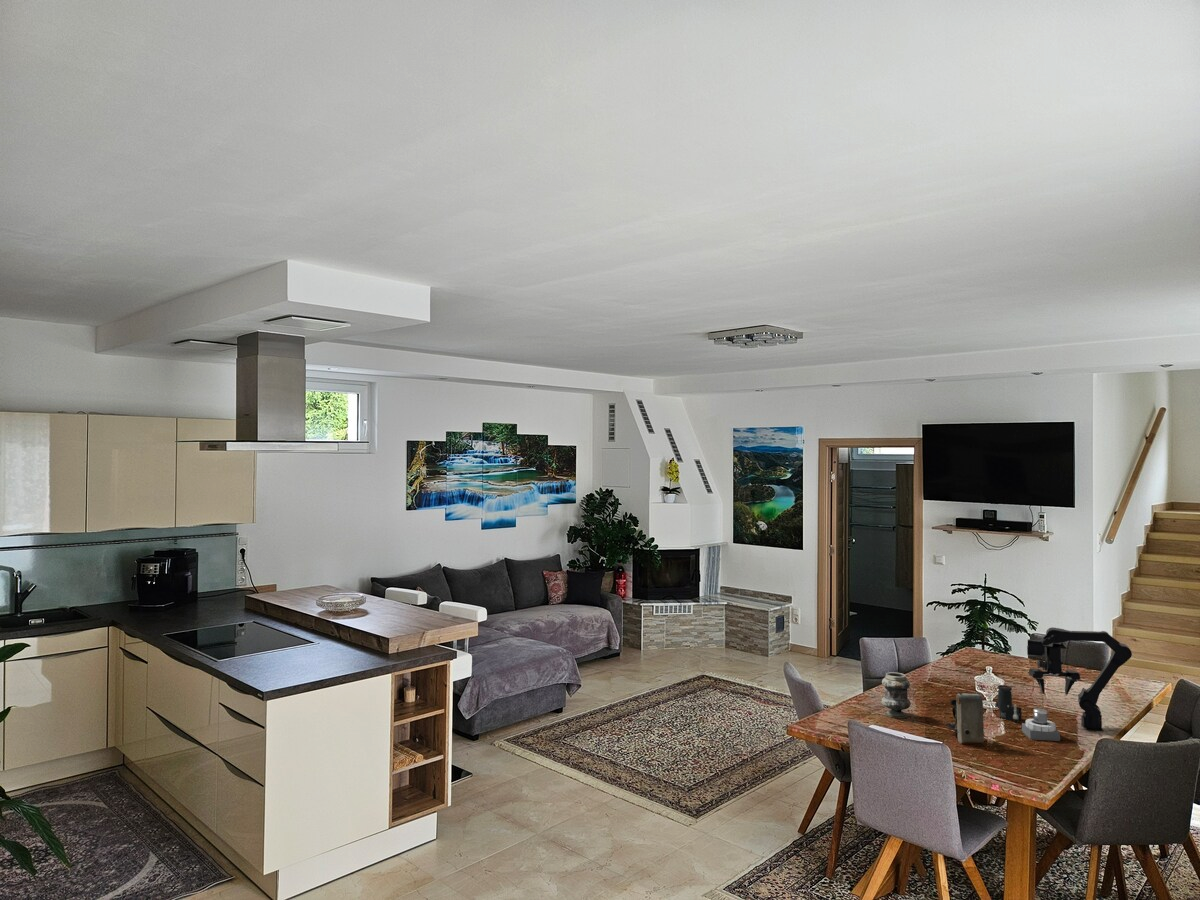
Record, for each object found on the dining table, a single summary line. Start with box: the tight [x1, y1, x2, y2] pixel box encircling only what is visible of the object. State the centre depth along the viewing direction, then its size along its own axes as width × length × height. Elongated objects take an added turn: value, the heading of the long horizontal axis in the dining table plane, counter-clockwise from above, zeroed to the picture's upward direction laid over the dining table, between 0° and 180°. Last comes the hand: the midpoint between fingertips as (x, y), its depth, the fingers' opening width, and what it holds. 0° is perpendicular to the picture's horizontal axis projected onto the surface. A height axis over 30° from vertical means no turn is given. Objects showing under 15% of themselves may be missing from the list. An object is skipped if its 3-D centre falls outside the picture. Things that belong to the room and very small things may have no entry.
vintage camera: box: [944, 692, 985, 745], centre depth 321 cm, size 10×15×20 cm, turn 2°
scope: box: [994, 684, 1023, 724], centre depth 345 cm, size 8×14×10 cm
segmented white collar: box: [1021, 718, 1061, 742], centre depth 323 cm, size 11×10×6 cm
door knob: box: [1032, 707, 1048, 725], centre depth 323 cm, size 5×5×7 cm
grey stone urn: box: [881, 671, 912, 719], centre depth 351 cm, size 12×12×18 cm
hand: (1054, 694), depth 339 cm, fingers open, 9 cm apart
